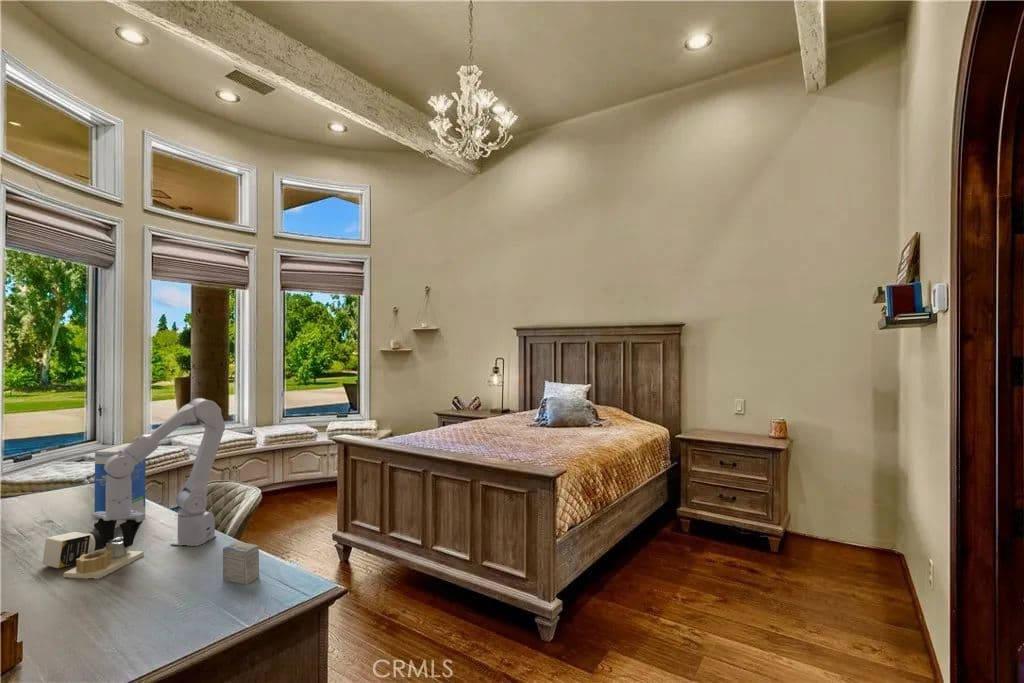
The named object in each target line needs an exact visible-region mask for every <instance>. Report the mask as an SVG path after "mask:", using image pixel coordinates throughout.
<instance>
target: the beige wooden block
mask: <svg viewBox="0 0 1024 683" xmlns="http://www.w3.org/2000/svg"><path fill="white" fill-rule="evenodd" d="M256 578H257V579H259V578H260V546H259V545H258V544H254V543H247V542H243V541H242V542H241V541H235V542H232V543H230V544H228V545H226V546H225V547H223V548H222V580H223V581H225V580H226V581H227V582H231V583H235V584H241V585H245V586H247V585H248V584H250V583H252V582H254V581H255V580H257V579H256ZM253 580H254V581H253Z"/></svg>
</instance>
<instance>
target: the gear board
mask: <svg viewBox="0 0 1024 683" xmlns="http://www.w3.org/2000/svg"><path fill="white" fill-rule="evenodd" d="M118 542H122V539H117V540H115V543H118ZM144 555H145V551H144V550H143V551H141V550H131V551H129V553H128V554H124V555H121V556H119V557H118V556H116V557H111V551H110V552H108V551H107V550H106V549H103V550H102V551H97V552H96V551H93V552H92V553H88V554H83V555H81V556H80V558H78V559H76V564H75V565H76V567H73V568H70V570H67V571H65V572H63V578H66V577H68V578H67V579H69V578H70V579H71V578H73V579H88V578H94V579H93V580H100V579H102V578H104V577H106V576H107V574H108V575H109V573H110V574H111V573H113V572H115V571H116V570H119V569H121V568H123V567H125V566H126V565H129V564H130V563H132V562H134V561H136V560H138V559H141V558H143V557H145V556H144ZM105 575H106V576H105ZM103 576H104V577H103ZM101 577H102V578H101ZM99 578H100V579H99Z"/></svg>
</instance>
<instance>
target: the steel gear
mask: <svg viewBox="0 0 1024 683" xmlns="http://www.w3.org/2000/svg"><path fill="white" fill-rule="evenodd" d="M117 539H122V542H118V543H115V540H117ZM105 550H107V551H108V552H110V551H111V557H116V556H118V557H119V556H121V555H124V554H128V553H129V551H132V545H131V546H129V547H124V543H123V536H116V538H115V537H114V539H110V540H108V542H106V547H105Z"/></svg>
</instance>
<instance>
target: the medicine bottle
mask: <svg viewBox="0 0 1024 683" xmlns="http://www.w3.org/2000/svg"><path fill="white" fill-rule="evenodd" d="M105 548H106V547H105V546H104V544H103V541H102V538H101V536H100V534H99V532H98V531H94V532H91V533H83V532H80V531H73V532H67V533H63V534H58V535H54V536H48V537H46V539H45V543H44V548H43V550H44V551H43V556H42V557H43V558H42V563H41V564H42V565H45V566H48V567H52V568H56V569H60V568H65V567H68V566H69V567H70V566H73V565H76V559H78V558H80V556H81V555H83V554H88V553H92V552H93V551H96V552H97V551H103V550H105Z"/></svg>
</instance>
